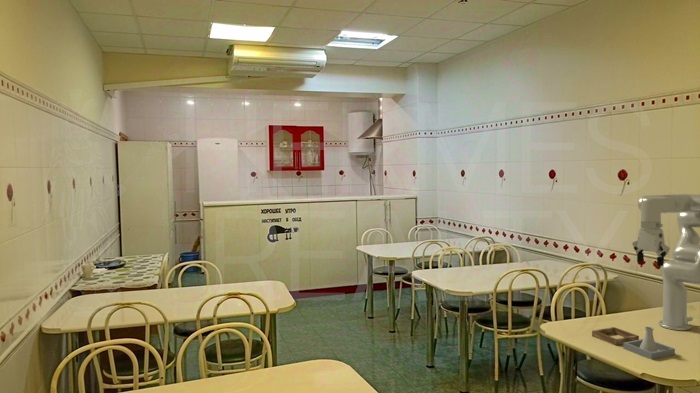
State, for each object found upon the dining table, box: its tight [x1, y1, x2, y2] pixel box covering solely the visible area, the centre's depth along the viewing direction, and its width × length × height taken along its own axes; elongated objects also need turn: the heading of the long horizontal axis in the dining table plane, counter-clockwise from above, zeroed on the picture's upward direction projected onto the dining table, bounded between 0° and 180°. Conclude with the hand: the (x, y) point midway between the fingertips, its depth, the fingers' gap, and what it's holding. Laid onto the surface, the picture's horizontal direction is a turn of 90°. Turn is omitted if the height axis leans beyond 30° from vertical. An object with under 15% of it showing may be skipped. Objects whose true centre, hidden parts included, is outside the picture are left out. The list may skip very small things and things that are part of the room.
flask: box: [639, 326, 659, 352], centre depth 204 cm, size 7×7×10 cm
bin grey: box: [622, 338, 676, 360], centre depth 205 cm, size 13×13×2 cm
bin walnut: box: [591, 326, 640, 346], centre depth 220 cm, size 13×13×2 cm
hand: (650, 263), depth 219 cm, fingers open, 9 cm apart
